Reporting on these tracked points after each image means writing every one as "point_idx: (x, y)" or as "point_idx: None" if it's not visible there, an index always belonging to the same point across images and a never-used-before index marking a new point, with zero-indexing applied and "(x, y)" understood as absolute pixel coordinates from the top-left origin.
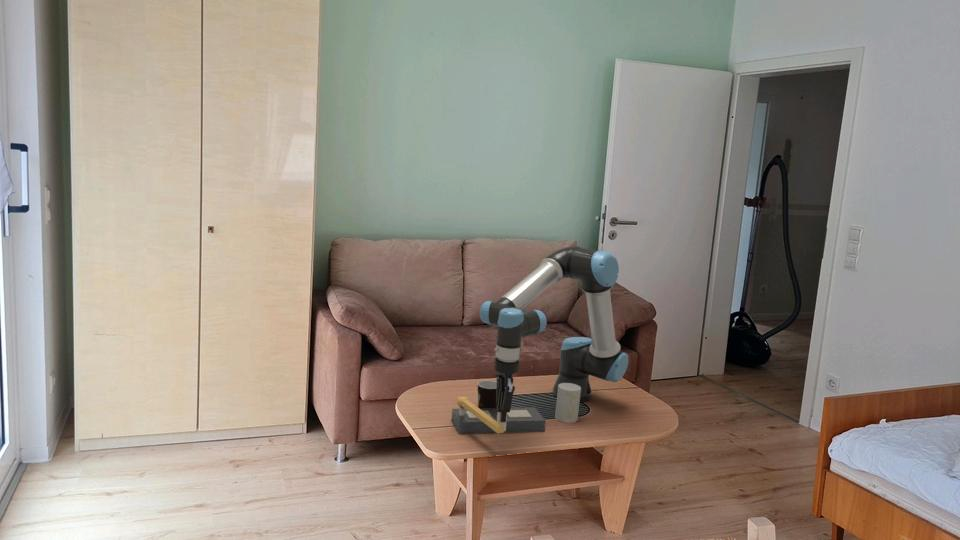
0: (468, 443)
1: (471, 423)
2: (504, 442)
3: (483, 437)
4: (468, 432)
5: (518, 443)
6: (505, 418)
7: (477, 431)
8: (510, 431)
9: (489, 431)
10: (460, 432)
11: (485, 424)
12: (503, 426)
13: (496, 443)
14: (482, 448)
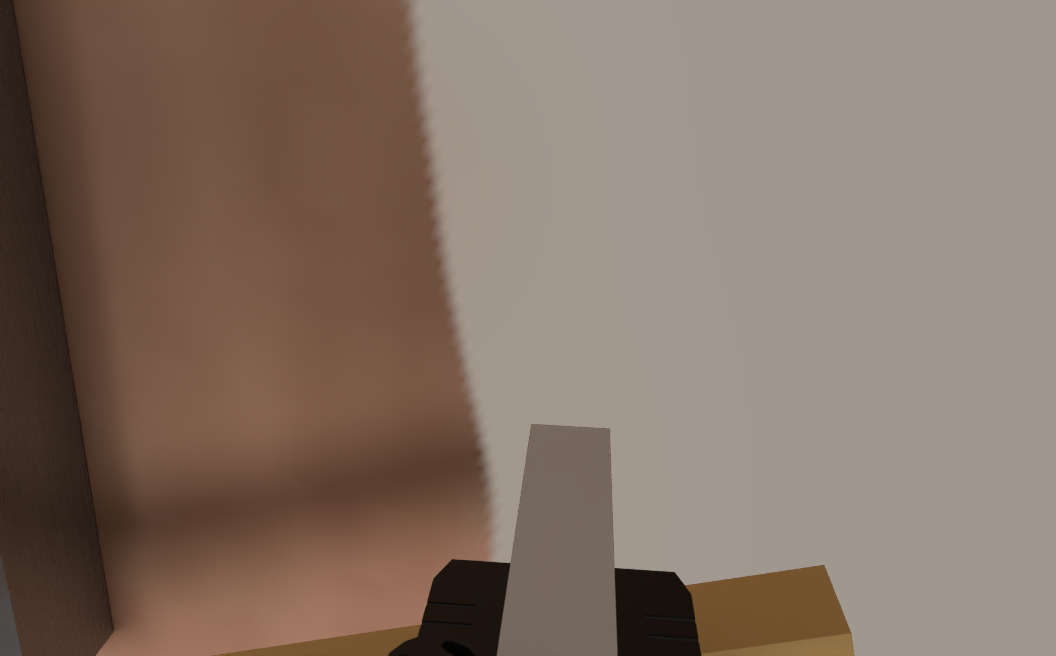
0: (356, 608)
1: (24, 594)
2: (340, 211)
3: (196, 415)
4: (92, 548)
5: (377, 26)
6: (695, 642)
7: (72, 460)
8: (5, 21)
9: (50, 318)
10: (103, 627)
11: (2, 415)
12: (821, 639)
13: (366, 319)
14: (492, 511)
